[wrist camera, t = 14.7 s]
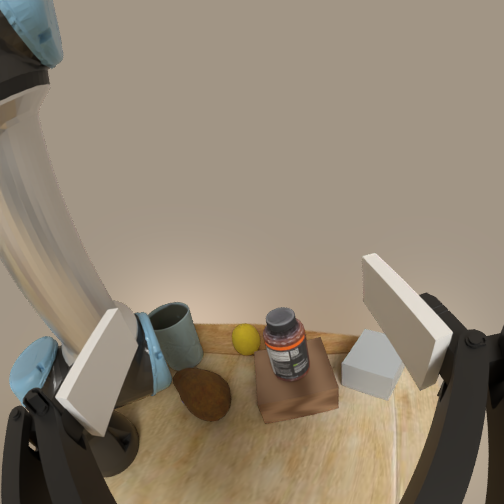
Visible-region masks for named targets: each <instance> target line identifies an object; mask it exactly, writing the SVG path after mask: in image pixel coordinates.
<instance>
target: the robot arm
mask: <svg viewBox="0 0 504 504" xmlns="http://www.w3.org/2000/svg"><path fill="white" fill-rule="evenodd" d="M62 59H63V50H62V42H61V37H60V32H59V27H58V22H57V19H56V13H55V9H54V4H53V0H0V259H1V261H2V263H3V264H4V266H5V268H6V269H7V271H8V272H9V274H10V276H11V277H12V279H13V280H14V282H15V283H16V285H17V286H18V287H19V289H20V291H21V292H22V293H23V295H24V296H25V298H26V299H27V300H28V302H29V303H30V304H31V306H32V307H33V308H34V310H35V311H36V312H37V314H38V315H39V316H40V317H41V319H42V320H43V321H44V322H45V324H46V325H47V326H48V327H49V328H50V330H51V331H52V332H53V333H54V334H55V335H56V337H57V338H58V339H59V340H60V341H61V342H62V345H61V346H58V343H57V341H56V340H54V339H53V338H52V337H47V336H45V337H42V338H39V339H38V340H36V341H34V342H33V343H32V344H30V345H29V346H28V347H27V348H26V349H25V350H24V351H23V352H22V353H21V355H20V356H19V357H18V359H17V360H16V362H15V363H14V365H13V367H12V370H11V373H10V379H9V381H10V387H11V389H12V391H13V392H14V394H15V395H16V396H17V397H18V399H19V400H20V401H21V403H22V405H23V406H24V407H25V408H26V409H27V410H28V411H29V412H28V411H27V410H26V409H25V408H24V407H23V406H17V407H15V408H14V409H12V411H11V413H10V415H9V419H8V424H7V430H6V436H5V445H4V452H3V464H2V484H1V485H2V487H1V488H2V489H1V493H2V494H1V496H2V497H1V498H2V504H117V503H116V501H115V499H114V497H113V496H112V494H111V492H110V490H109V488H108V486H107V484H106V482H105V480H104V478H103V477H110V476H114V475H117V474H119V473H121V472H122V471H124V470H125V469H126V468H127V467H128V466H129V465H130V464H131V463H132V461H133V460H134V458H135V456H136V454H137V451H138V446H139V438H138V433H137V431H136V429H135V427H134V426H133V425H132V424H131V422H130V421H129V420H128V419H127V418H126V417H125V416H123V415H122V414H120V413H118V412H116V411H115V410H113V409H116V408H119V407H122V406H124V405H127V404H130V403H132V402H135V401H138V400H140V399H143V398H145V397H148V396H154V395H155V394H156V393H157V392H160V391H162V390H164V389H166V388H167V387H169V386H170V384H171V382H172V376H171V373H170V371H169V368H168V366H167V363H166V361H165V358H164V356H163V354H162V351H161V348H160V345H159V343H158V340H157V337H156V335H155V332H154V330H153V327H152V324H151V322H150V319H149V317H148V315H147V314H146V313H144V312H141V313H135V314H134V313H133V312H132V311H131V309H130V308H129V307H128V306H127V305H125V304H123V303H121V302H118V301H113V300H112V299H111V297H110V295H109V294H108V292H107V290H106V288H105V286H104V284H103V283H102V281H101V279H100V277H99V275H98V273H97V272H96V269H95V267H94V266H93V264H92V262H91V260H90V258H89V256H88V253H87V251H86V249H85V247H84V245H83V243H82V241H81V239H80V237H79V234H78V232H77V230H76V228H75V225H74V223H73V220H72V218H71V216H70V214H69V211H68V208H67V206H66V203H65V201H64V198H63V196H62V193H61V190H60V187H59V184H58V182H57V179H56V176H55V173H54V170H53V167H52V164H51V160H50V157H49V154H48V150H47V147H46V143H45V139H44V135H43V131H42V128H41V123H40V119H39V115H38V113H39V110H40V106H41V105H42V103H43V101H44V99H45V97H46V95H47V94H48V92H49V90H50V83H49V77H48V69H49V68H54V67H55V66H56V65H57V64H59V63H60V62H61V61H62ZM362 268H363V302H364V303H365V305H366V306H367V307H368V309H369V311H370V312H371V314H372V315H373V317H374V318H375V320H376V321H377V323H378V324H379V326H380V327H381V328H382V330H383V332H384V333H385V335H386V336H387V338H388V339H389V341H390V343H391V344H392V346H393V347H394V349H395V350H396V352H397V354H398V355H399V357H400V358H401V360H402V362H403V363H404V365H405V367H406V368H407V370H408V371H409V373H410V375H411V376H412V378H413V380H414V382H415V383H416V385H417V387H418V388H419V390H420V391H421V390H423V389H425V388H427V387H429V386H431V385H433V384H435V383H436V381H437V378H438V376H439V374H440V375H441V377H442V378H443V380H444V381H443V383H442V385H441V388H440V390H439V392H438V394H437V396H439V399H438V403H437V407H436V411H435V414H434V418H433V421H432V424H431V428H430V431H429V434H428V437H427V440H426V443H425V446H424V448H423V451H422V454H421V457H420V459H419V462H418V464H417V467H416V469H415V471H414V474H413V476H412V478H411V480H410V483H409V485H408V487H407V489H406V491H405V493H404V495H403V497H402V499H401V501H400V503H399V504H462V502H463V499H464V497H465V494H466V491H467V488H468V485H469V482H470V479H471V476H472V472H473V469H474V466H475V461H476V458H477V454H478V450H479V445H480V440H481V435H482V430H483V424H484V418H485V411H486V412H487V422H488V443H489V464H488V465H489V467H488V484H487V494H486V503H485V504H504V326H503V329H502V331H501V333H499V334H494V335H490V336H486V335H485V334H484V333H482V332H480V331H478V330H475V329H473V330H467V329H466V328H465V327H464V326H463V325H462V323H461V322H460V321H459V320H458V319H457V318H456V317H455V316H454V315H453V314H452V313H451V312H450V311H448V309H447V308H446V307H445V306H444V305H442V303H441V302H440V301H439V300H438V299H437V298H436V297H434V296H432V295H430V294H428V293H424V294H421V295H418V294H417V293H416V292H415V291H414V290H413V289H412V288H411V287H410V286H409V285H408V284H407V283H406V282H405V281H404V280H403V279H402V278H401V277H400V276H399V275H398V274H397V273H395V271H394V270H393V269H392V268H391V267H390V266H388V265H387V264H386V263H385V262H384V261H383V260H382V259H381V258H380V257H379V256H378V255H377V254H376V253H373V254H370V255H365V256H362ZM29 442H30V443H31V444H33V445H34V446H35V447H36V450H35V451H34V450H33V449H31V448H30V447H29Z"/></svg>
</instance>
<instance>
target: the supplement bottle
mask: <svg viewBox="0 0 504 504" xmlns="http://www.w3.org/2000/svg"><path fill="white" fill-rule="evenodd" d="M266 323H267V326H266V327H265V329H264V332H263V337H264V341H265V345H266V348H267V352H268V355H269V358H270V363H271V365H272V369H273V371H274V374H275V375H276V377H277V378H279V379H280V380H283V381H288V382H289V381H290V382H291V381H296V380H299V379H301V378H302V377H304V376H305V375H306V374H307V373H308V371H309V368H310V360H309V354H308V347H307V341H306V335H305V329H304V326H303V324H302V323H301V322H300V321H299V320H298V319H296V318H295V313H294V311H293V310H292V309H289V308H284V307H283V308H282V307H281V308H276V309H274V310H272V311H270V312H269V313H268V314H267V316H266Z"/></svg>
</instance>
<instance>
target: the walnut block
mask: <svg viewBox="0 0 504 504" xmlns="http://www.w3.org/2000/svg"><path fill="white" fill-rule="evenodd" d="M307 347H308V354H309V360H310V368H309V371H308V373H307V374H306V375H305V376H304V377H302V378H301V379H299V380H296V381H291V382H290V381H289V382H288V381H283V380H280V379H279V378H277V377H276V375H275V374H274V371H273V369H272V365H271V363H270V358H269V355H268V352H267V349H265V350H260V351H255V352H254V358H255V373H256V388H257V403H258V407H259V410H260V412H261V415H262V417H263V419H264V422H265V424H267V423H273V422H279V421H284V420H290V419H295V418H299V417H304V416H309V415H313V414H317V413H321V412H325V411H329V410H333V409H336V408H338V397H339V387H338V384H337V382H336V379H335V376H334V373H333V370H332V367H331V365H330V362H329V359H328V356H327V354H326V351H325V348H324V345H323V343H322V340H321V337H319V338H315V339H311V340H307Z"/></svg>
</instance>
